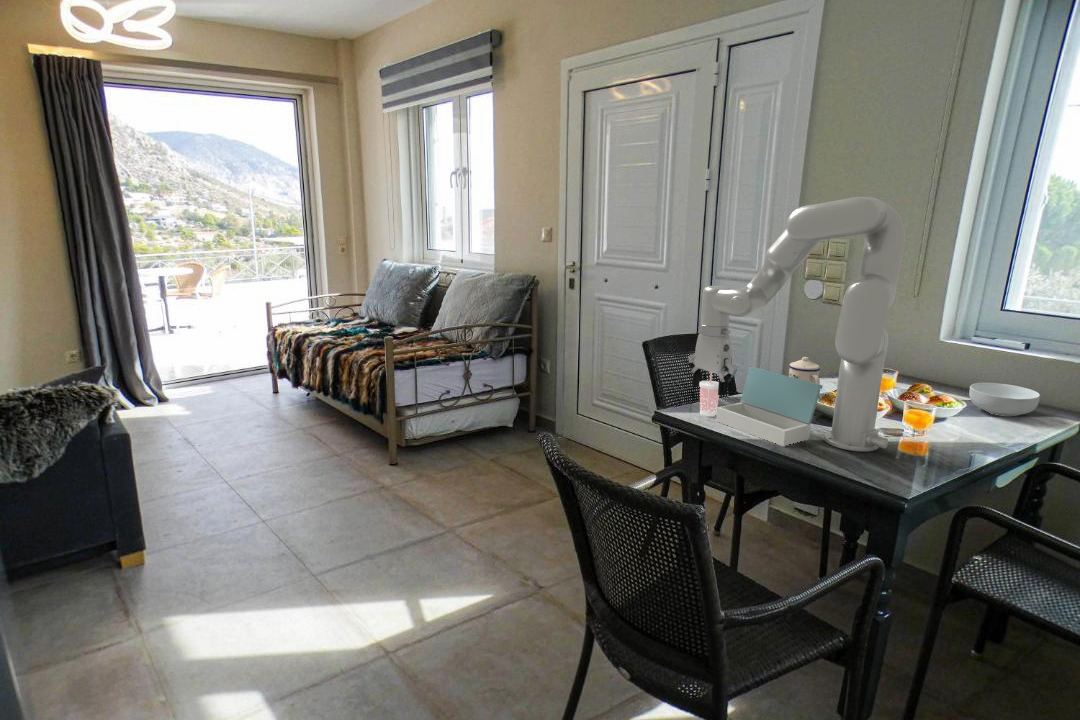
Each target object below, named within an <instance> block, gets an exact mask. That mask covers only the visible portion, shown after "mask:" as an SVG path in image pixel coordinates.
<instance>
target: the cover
mask: <svg viewBox="0 0 1080 720" xmlns="http://www.w3.org/2000/svg"><path fill="white" fill-rule="evenodd" d="M823 386H824V385H822V384H815V383H812V382H808V381H804V380H800V379H797V378H793V377H789V375H784V374H781V373H777V372H773V371H770V370H766V369H762V368H759V367H755V366H750V365H749V368H748V372H747V376H746V379H745V382H744V386H743V389H742V394H741V398H740V402H742V403H745V404H748V405H751V406H754V407H757V408H760V409H763V410H766V411H769V412H773V413H776V414H779V415H782V416H785V417H788V418H791V419H794V420H797V421H800V422H803V423H806V424H809V425H810V424H812V420H813V416H814V413H815V410H816V406H817V402H818V399H819V396H820V393H821V390H822V389H823ZM740 402H739V403H740Z"/></svg>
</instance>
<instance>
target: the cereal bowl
mask: <svg viewBox="0 0 1080 720" xmlns="http://www.w3.org/2000/svg"><path fill="white" fill-rule="evenodd" d="M968 392H969V394H968V395H969V399H970V401H971V402H972V404H973V405H975V406H976V407H977V408H979V409H981V410H983V411H984V410H985V411H987V412H990V413H993V414H998V415H1004V416H1016V415H1018V416H1021V415H1025V414H1029V413H1031V412H1033V411H1035V410H1036V408H1037V407H1038V406H1039V403H1040V399H1041V394H1040V393H1039V392H1037V391H1035V390H1033V389H1030V388H1027V387H1023V386H1018V385H1013V384H1006V383H997V382H976V383H972V384H971V385H970V386H969V391H968ZM985 411H984V412H985ZM987 412H986V413H987ZM1016 417H1017V416H1016Z"/></svg>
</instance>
